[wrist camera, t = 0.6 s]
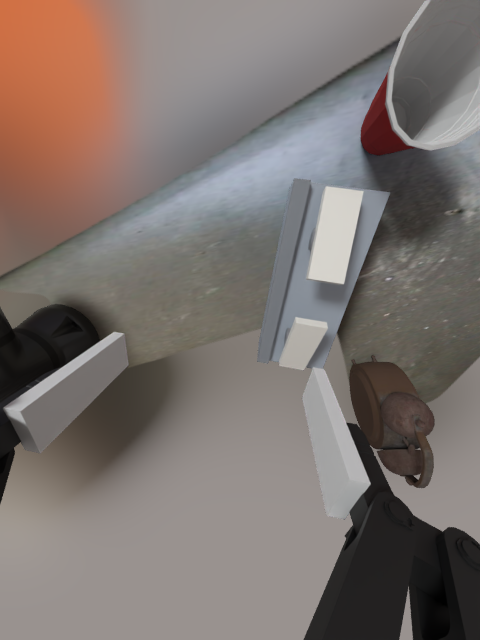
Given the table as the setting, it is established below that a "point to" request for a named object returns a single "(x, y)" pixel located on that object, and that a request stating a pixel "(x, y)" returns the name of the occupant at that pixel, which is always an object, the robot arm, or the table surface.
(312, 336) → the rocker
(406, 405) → the alarm clock
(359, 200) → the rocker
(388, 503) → the robot arm
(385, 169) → the table surface
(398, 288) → the table surface
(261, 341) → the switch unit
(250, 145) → the table surface
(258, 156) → the table surface
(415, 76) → the plastic cup
